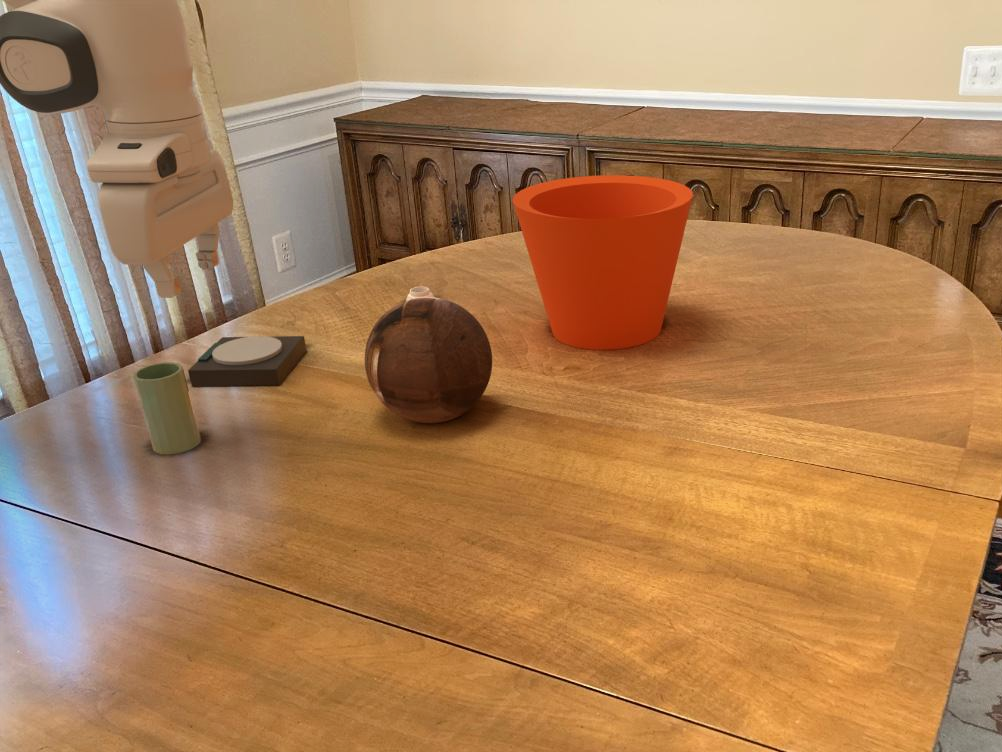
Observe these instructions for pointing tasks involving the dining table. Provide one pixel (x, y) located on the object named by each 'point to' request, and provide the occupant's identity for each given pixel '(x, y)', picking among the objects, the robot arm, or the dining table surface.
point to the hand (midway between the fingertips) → (190, 280)
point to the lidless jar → (419, 293)
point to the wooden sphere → (428, 360)
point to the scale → (248, 361)
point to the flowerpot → (604, 254)
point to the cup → (167, 407)
